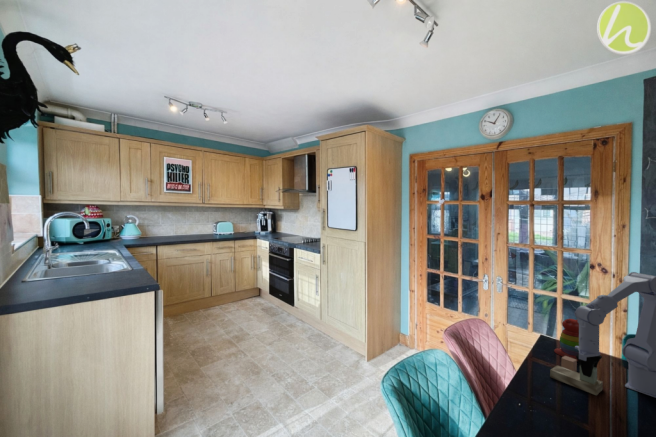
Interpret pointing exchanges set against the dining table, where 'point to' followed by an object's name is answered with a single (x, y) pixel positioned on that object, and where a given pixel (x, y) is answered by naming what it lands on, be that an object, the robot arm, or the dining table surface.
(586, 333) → the robot arm
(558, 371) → the birch board
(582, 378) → the sage block
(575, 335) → the stacking bear
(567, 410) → the dining table surface
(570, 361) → the terracotta block
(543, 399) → the dining table surface
